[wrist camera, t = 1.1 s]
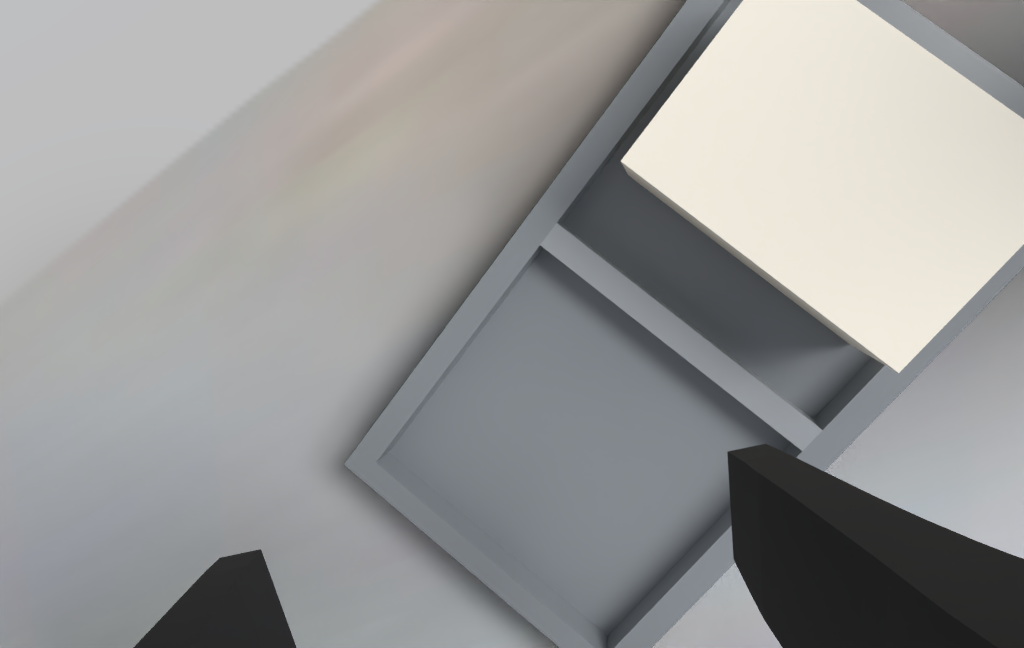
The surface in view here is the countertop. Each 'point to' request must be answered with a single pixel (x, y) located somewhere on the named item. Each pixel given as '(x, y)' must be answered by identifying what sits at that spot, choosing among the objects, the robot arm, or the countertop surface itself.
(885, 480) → the countertop surface
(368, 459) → the tray
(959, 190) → the plain cream box
